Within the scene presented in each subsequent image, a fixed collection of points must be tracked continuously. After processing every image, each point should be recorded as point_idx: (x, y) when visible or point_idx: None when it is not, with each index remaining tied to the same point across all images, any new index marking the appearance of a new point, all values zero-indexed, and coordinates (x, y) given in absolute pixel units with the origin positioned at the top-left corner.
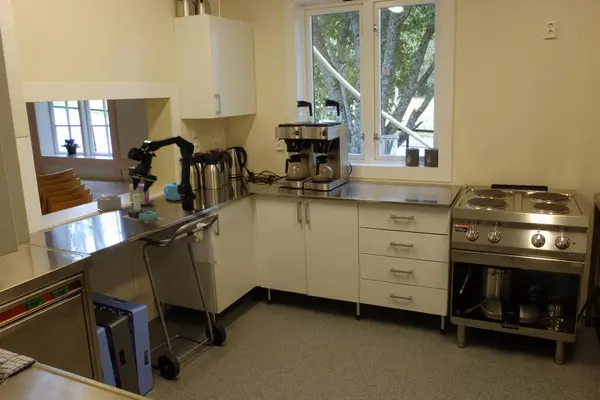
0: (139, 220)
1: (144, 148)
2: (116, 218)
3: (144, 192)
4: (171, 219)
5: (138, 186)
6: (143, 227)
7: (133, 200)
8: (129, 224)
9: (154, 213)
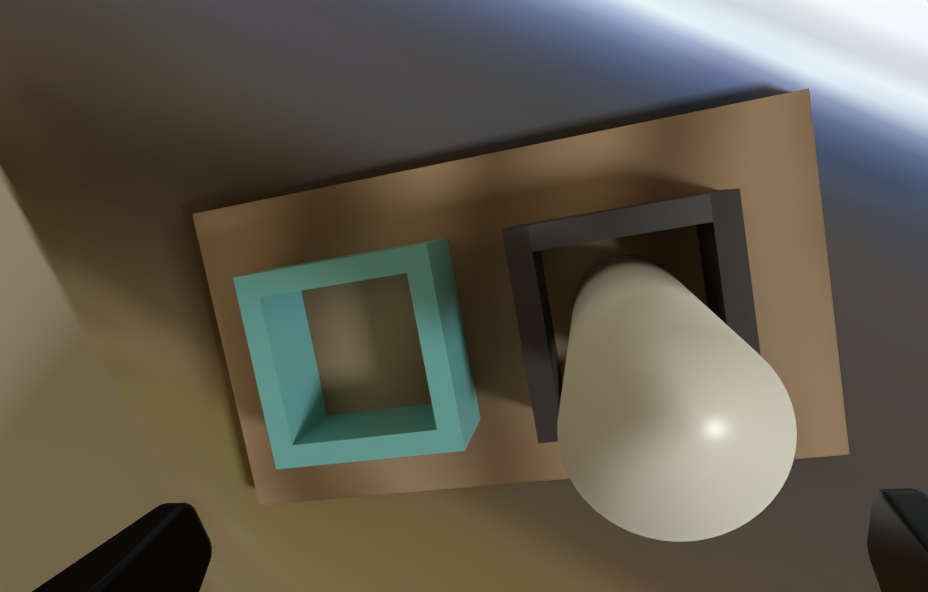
0: (364, 201)
1: None
2: (844, 23)
3: (178, 533)
4: (265, 571)
5: None
6: (117, 120)
7: (663, 293)
8: (352, 37)
9: (283, 431)
